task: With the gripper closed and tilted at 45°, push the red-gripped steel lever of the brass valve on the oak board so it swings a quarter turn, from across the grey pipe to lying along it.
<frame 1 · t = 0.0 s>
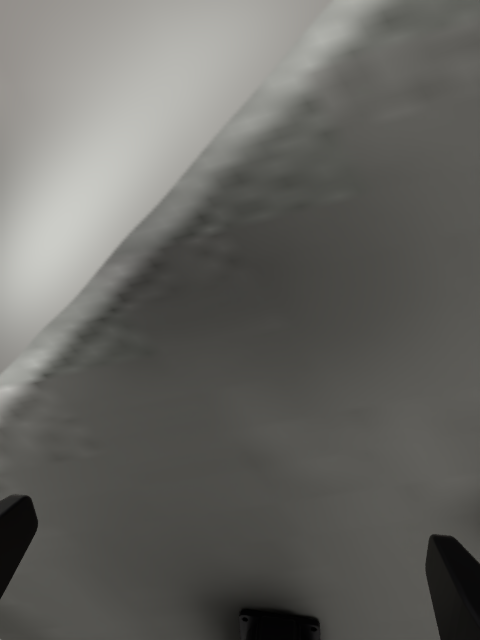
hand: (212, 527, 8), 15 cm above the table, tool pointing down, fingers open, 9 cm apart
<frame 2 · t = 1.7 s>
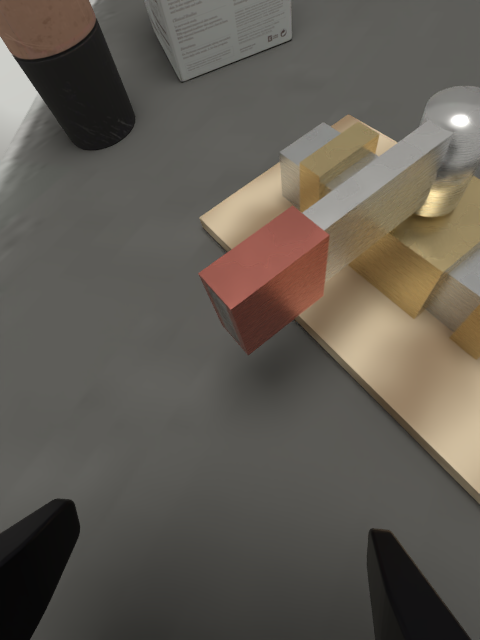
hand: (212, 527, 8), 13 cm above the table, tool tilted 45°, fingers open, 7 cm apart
supplement box: (218, 37, 43), on the table
oak board: (398, 267, 25), on the table
travel mug: (104, 128, 38), on the table
lever: (355, 223, 16), point 9 cm above the table, hinge at 0.0°
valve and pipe: (413, 231, 22), on the oak board, point 4 cm above the table
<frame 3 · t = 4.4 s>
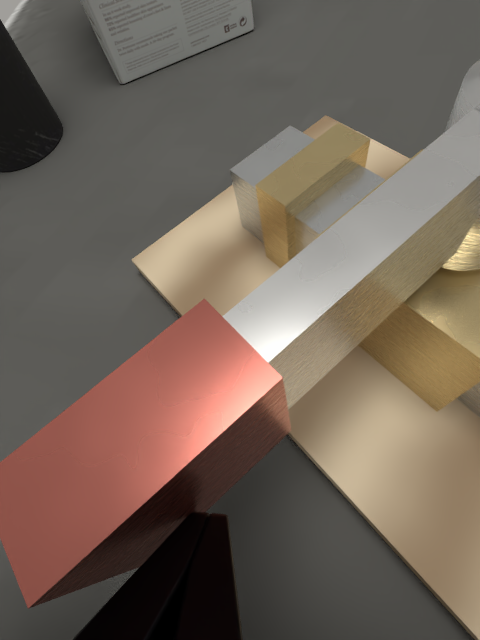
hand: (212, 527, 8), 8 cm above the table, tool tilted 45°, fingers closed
supplement box: (168, 31, 36), on the table
oak board: (406, 323, 18), on the table
travel mug: (24, 144, 31), on the table
lever: (342, 304, 9), point 9 cm above the table, hinge at -0.1°, touching gripper
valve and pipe: (429, 282, 15), on the oak board, point 4 cm above the table
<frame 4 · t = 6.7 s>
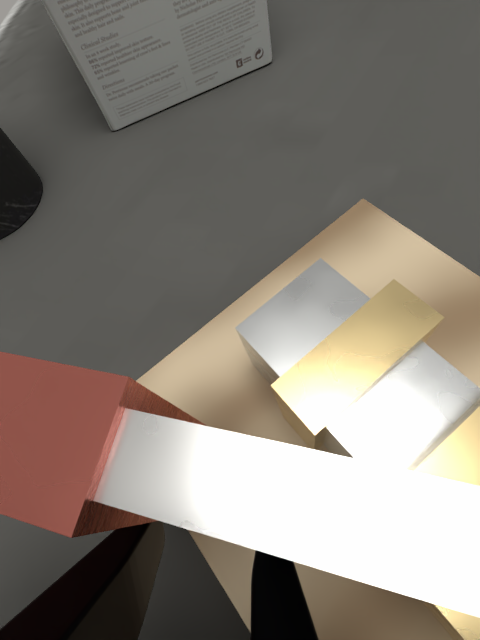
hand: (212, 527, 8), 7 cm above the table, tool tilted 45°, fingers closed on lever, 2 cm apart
supplement box: (170, 59, 30), on the table
oak board: (474, 536, 13), on the table
lever: (315, 501, 6), point 9 cm above the table, hinge at -52.0°, touching gripper
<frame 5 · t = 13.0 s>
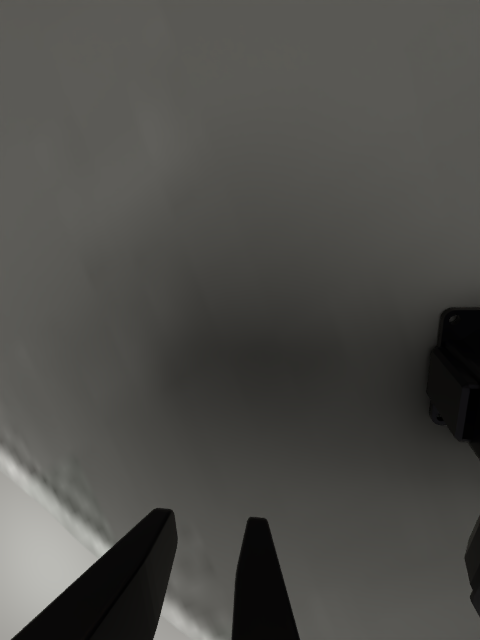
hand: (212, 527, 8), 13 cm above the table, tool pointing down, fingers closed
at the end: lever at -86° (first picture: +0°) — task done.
